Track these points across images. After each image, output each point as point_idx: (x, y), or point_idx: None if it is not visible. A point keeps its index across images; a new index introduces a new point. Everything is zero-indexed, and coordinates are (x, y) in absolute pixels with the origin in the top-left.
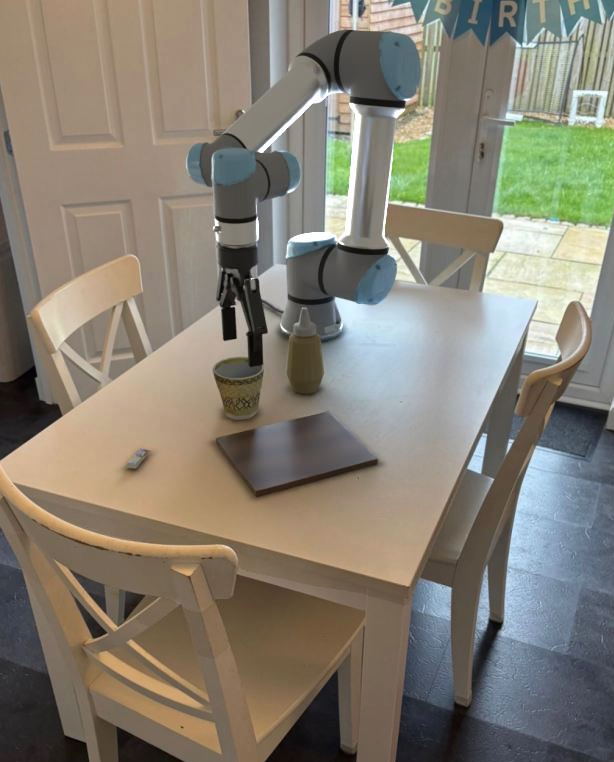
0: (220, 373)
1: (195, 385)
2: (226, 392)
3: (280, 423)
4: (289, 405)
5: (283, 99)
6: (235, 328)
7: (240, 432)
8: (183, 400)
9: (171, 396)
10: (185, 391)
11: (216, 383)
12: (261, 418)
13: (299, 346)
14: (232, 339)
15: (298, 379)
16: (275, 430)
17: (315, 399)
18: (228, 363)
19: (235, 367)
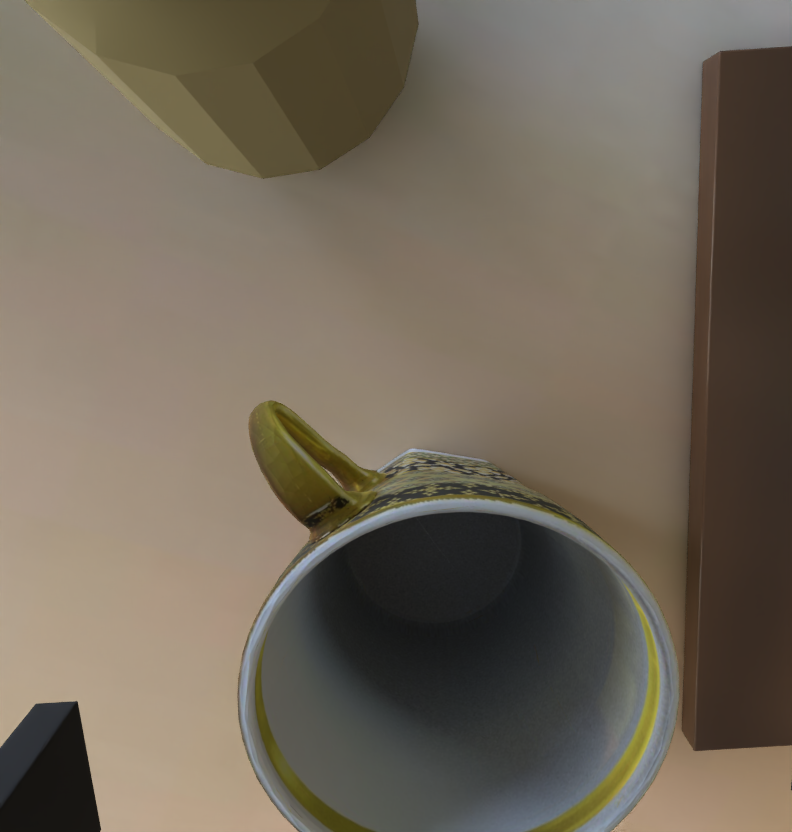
0: (316, 743)
1: (28, 668)
2: (539, 737)
3: (721, 404)
4: (464, 246)
5: None
6: (13, 805)
7: (706, 631)
8: (187, 762)
9: (122, 803)
10: (86, 731)
11: (455, 802)
12: (544, 454)
13: (337, 13)
14: (83, 747)
15: (375, 122)
16: (778, 456)
17: (456, 49)
18: (265, 706)
19: (276, 633)
